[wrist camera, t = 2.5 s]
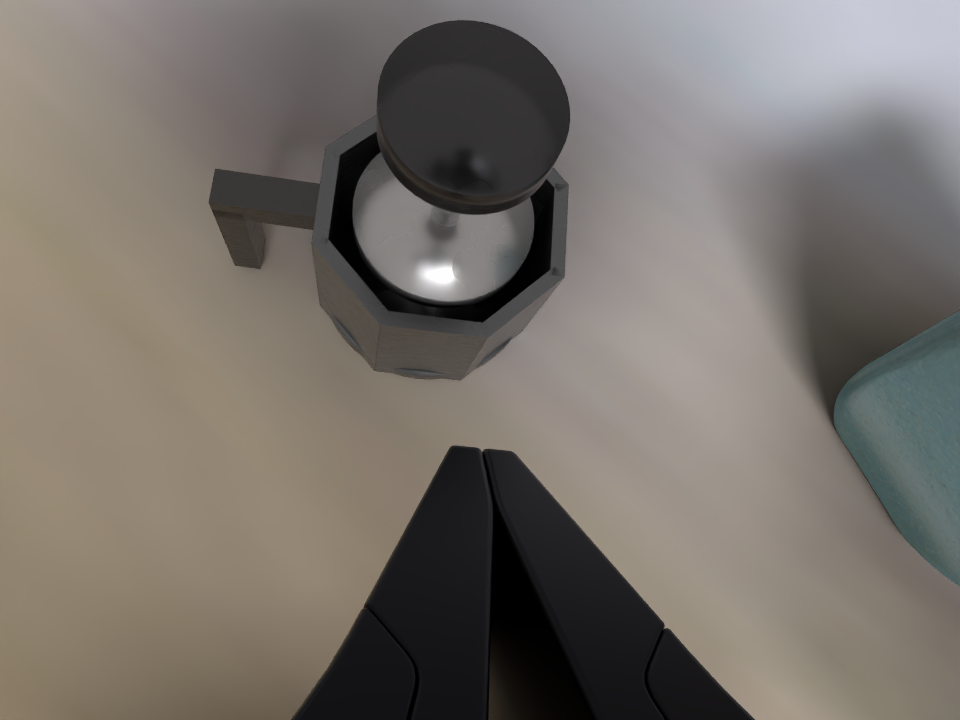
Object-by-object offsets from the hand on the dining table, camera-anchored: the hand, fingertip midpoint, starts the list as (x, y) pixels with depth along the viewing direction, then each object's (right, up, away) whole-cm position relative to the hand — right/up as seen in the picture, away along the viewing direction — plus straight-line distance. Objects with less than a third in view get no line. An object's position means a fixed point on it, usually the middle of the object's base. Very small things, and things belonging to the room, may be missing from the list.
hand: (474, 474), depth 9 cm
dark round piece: (-1, +5, +11) cm, 12 cm away
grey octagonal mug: (-3, +4, +14) cm, 16 cm away
